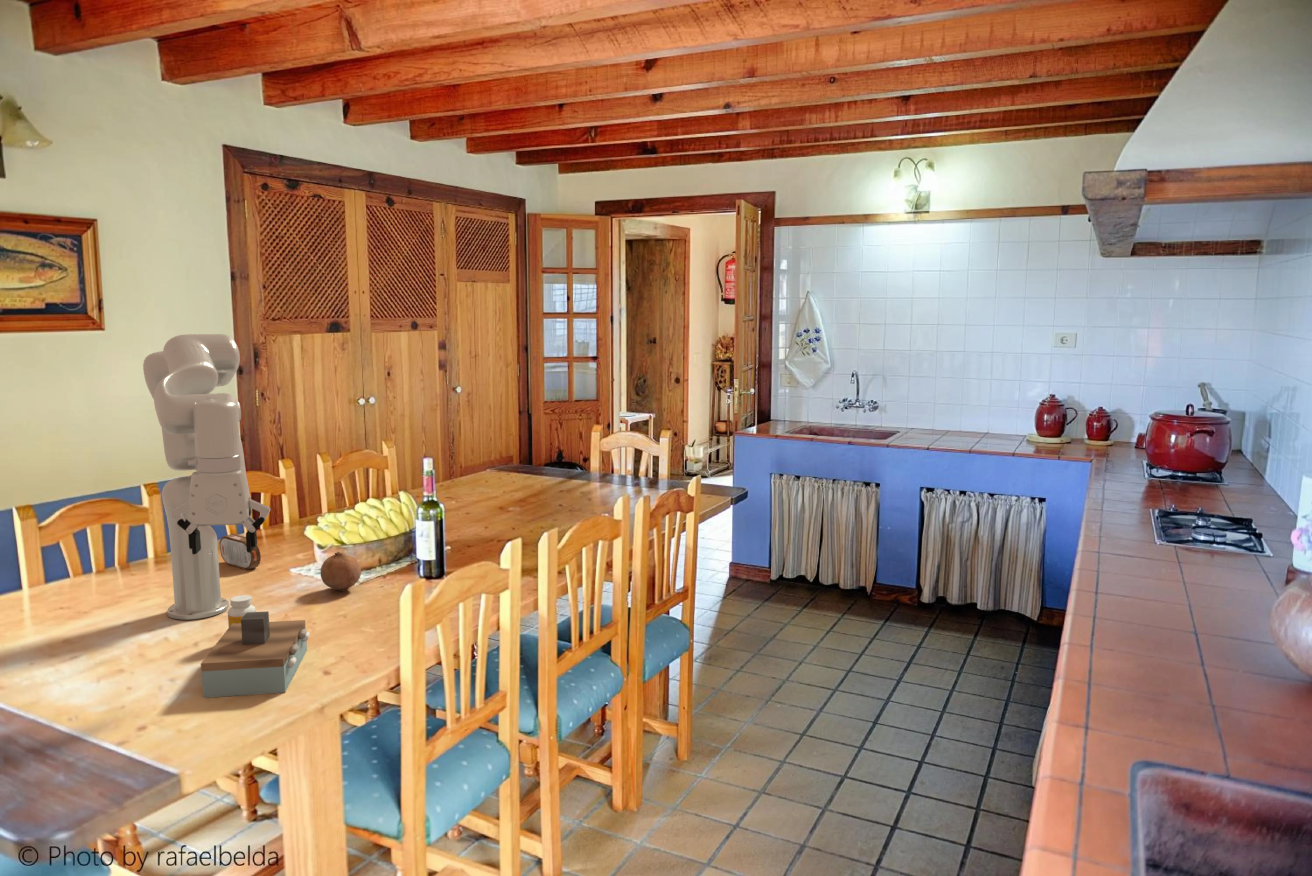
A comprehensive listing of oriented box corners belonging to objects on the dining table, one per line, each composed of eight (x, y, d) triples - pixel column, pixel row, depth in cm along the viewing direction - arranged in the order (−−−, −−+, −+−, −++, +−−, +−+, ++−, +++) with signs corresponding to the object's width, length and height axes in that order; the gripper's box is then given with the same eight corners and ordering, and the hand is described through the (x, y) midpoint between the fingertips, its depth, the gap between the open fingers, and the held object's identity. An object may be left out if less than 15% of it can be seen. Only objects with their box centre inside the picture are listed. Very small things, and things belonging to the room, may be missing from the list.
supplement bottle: (228, 639, 186) (225, 596, 184) (256, 635, 188) (253, 592, 187) (230, 648, 181) (227, 603, 180) (258, 643, 184) (256, 599, 182)
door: (232, 630, 177) (230, 600, 176) (311, 626, 180) (310, 596, 179) (201, 671, 158) (198, 637, 157) (290, 666, 161) (288, 632, 160)
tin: (262, 570, 234) (260, 539, 232) (251, 572, 231) (249, 542, 230) (229, 560, 241) (227, 531, 240) (218, 563, 239) (216, 533, 238)
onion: (315, 590, 218) (313, 551, 216) (351, 582, 224) (349, 544, 223) (331, 599, 211) (330, 559, 209) (368, 591, 217) (367, 552, 216)
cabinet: (234, 654, 178) (232, 631, 177) (313, 650, 181) (312, 626, 180) (203, 697, 158) (201, 671, 158) (292, 692, 161) (290, 666, 161)
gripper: (162, 469, 160) (168, 559, 163) (263, 467, 164) (267, 555, 167) (175, 461, 167) (181, 547, 170) (271, 459, 171) (275, 544, 174)
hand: (223, 551), depth 168 cm, fingers open, 9 cm apart
